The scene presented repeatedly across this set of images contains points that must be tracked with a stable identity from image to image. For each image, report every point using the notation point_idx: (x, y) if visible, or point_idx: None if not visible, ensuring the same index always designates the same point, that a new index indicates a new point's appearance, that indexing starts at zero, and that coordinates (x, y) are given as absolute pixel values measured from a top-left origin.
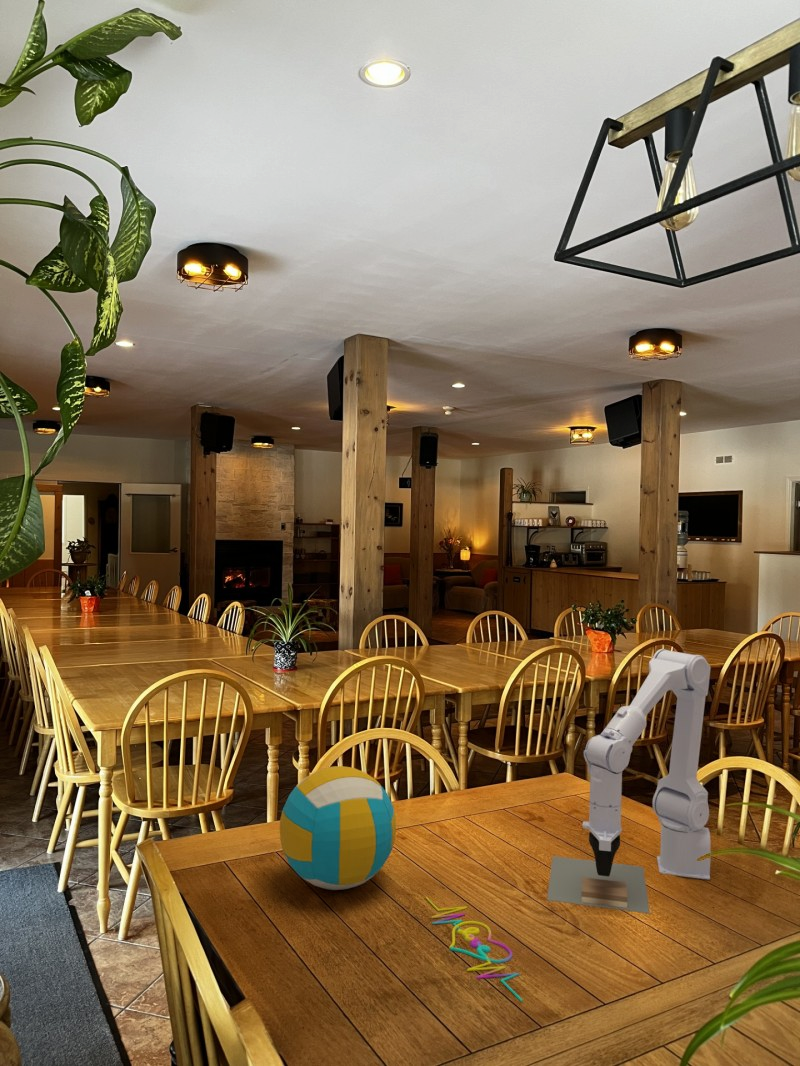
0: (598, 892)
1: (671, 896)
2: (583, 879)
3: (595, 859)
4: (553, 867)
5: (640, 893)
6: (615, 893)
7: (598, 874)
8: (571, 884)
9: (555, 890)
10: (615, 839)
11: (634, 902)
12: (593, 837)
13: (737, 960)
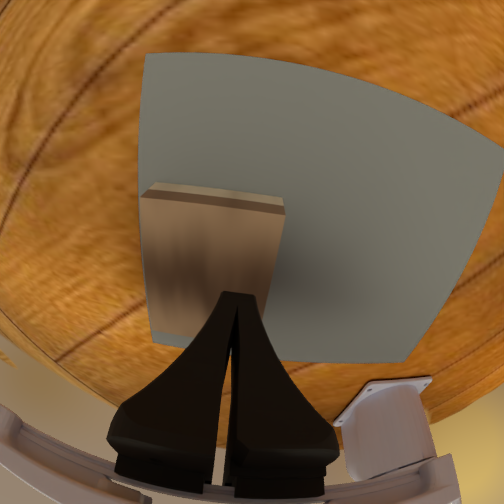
0: (149, 257)
1: None
2: (260, 217)
3: (193, 339)
4: (447, 124)
5: None
6: (161, 307)
7: (220, 294)
8: (306, 159)
9: (238, 84)
10: (223, 480)
11: None
12: (172, 459)
13: (79, 384)
